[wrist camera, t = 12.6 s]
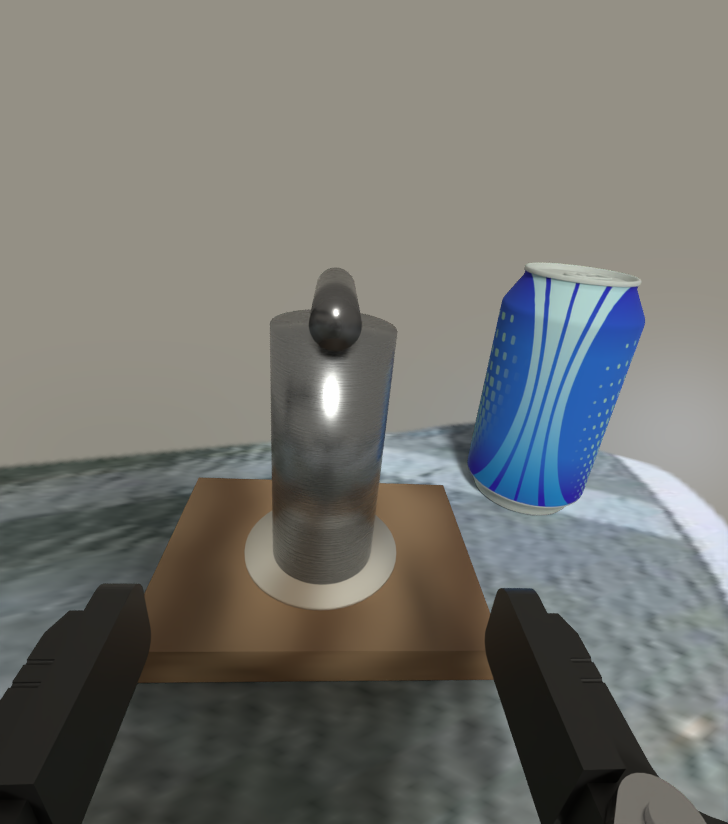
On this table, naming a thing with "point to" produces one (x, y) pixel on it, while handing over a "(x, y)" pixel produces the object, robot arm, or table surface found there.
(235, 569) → the block
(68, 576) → the table surface
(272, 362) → the grey cylinder
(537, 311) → the beer can
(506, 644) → the robot arm
